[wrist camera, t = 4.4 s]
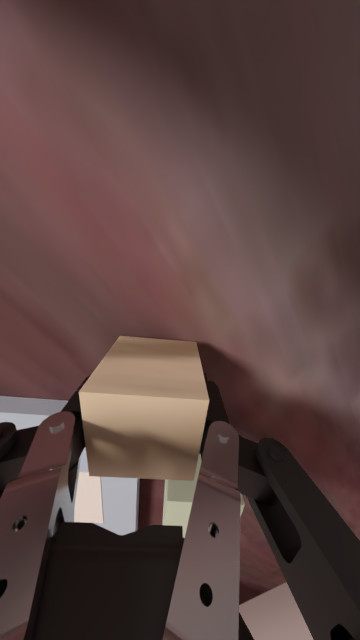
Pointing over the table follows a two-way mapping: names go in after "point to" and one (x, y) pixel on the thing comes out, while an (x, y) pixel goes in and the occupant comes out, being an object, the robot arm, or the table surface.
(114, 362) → the maple block
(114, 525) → the board
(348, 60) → the table surface
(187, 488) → the sage cap block
